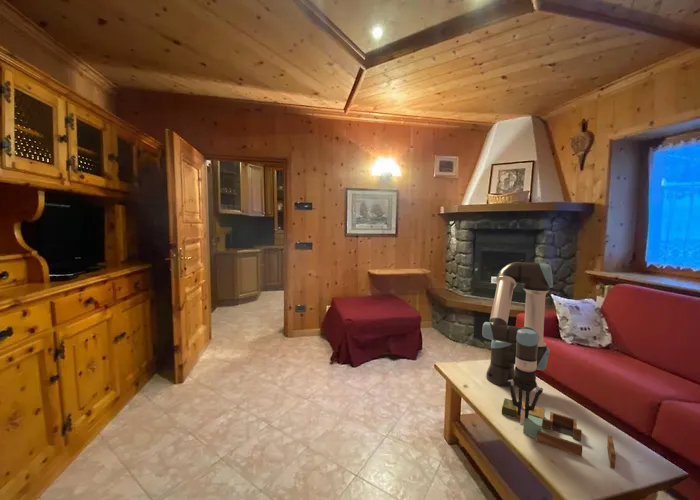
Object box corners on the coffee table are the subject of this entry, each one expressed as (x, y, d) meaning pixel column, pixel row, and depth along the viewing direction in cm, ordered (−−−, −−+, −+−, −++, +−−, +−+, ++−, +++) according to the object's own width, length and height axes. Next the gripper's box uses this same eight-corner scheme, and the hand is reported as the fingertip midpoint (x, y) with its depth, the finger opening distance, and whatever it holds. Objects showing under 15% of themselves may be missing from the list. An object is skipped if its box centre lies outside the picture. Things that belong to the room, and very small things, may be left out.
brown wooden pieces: (540, 417, 135) (541, 406, 134) (609, 439, 121) (610, 426, 121) (536, 441, 120) (537, 429, 119) (614, 469, 106) (615, 455, 106)
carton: (543, 427, 129) (544, 418, 128) (501, 415, 137) (501, 405, 137) (544, 417, 136) (544, 408, 135) (503, 405, 144) (504, 397, 144)
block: (525, 425, 130) (525, 413, 129) (542, 431, 126) (542, 419, 126) (523, 432, 125) (523, 421, 124) (540, 439, 121) (541, 426, 121)
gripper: (506, 367, 126) (503, 422, 128) (543, 376, 119) (540, 435, 121) (509, 360, 132) (506, 413, 134) (545, 369, 125) (541, 425, 127)
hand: (522, 423), depth 127 cm, fingers closed
